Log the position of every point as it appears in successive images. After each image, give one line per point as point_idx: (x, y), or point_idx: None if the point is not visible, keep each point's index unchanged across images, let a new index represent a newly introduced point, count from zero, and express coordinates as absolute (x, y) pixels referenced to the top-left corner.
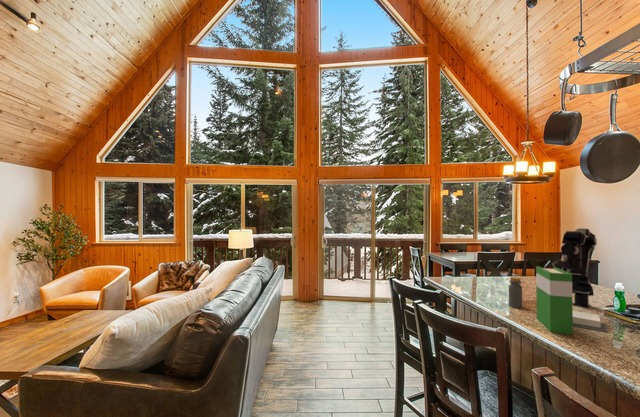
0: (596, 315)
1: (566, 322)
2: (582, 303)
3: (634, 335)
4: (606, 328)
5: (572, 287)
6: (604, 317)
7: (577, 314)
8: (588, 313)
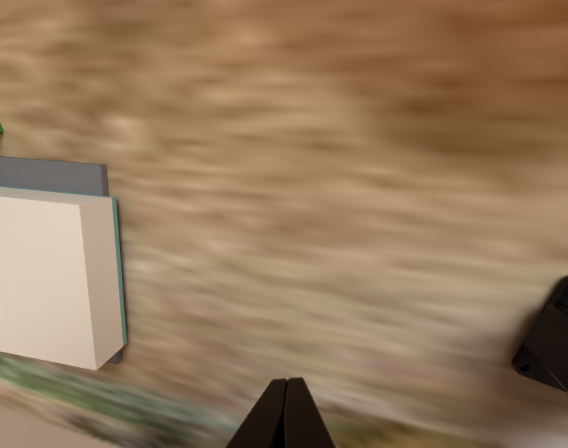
0: (70, 355)
1: None
2: (535, 357)
3: (35, 418)
4: None
5: (267, 387)
6: None
7: (9, 255)
8: (84, 322)
